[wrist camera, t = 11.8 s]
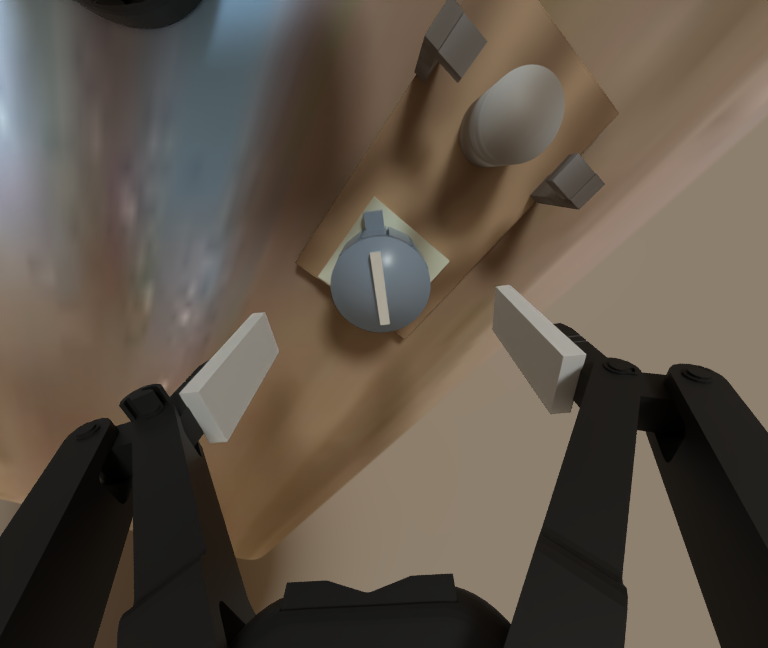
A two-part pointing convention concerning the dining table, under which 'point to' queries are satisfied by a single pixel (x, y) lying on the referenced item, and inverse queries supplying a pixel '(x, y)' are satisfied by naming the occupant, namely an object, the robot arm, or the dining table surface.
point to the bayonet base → (437, 159)
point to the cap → (380, 278)
